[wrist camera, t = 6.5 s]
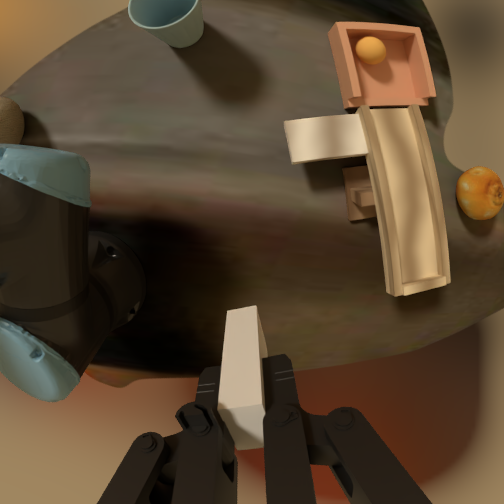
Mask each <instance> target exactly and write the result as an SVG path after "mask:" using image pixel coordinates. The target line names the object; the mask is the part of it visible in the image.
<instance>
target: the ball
mask: <svg viewBox="0 0 504 504" xmlns="http://www.w3.org/2000/svg"><path fill="white" fill-rule="evenodd" d="M355 50H356V54H357V56H358V57H359V58H360V59H361V60H362V61H363V62H365V63H367V64H371V65H375V64H379V63H380V62H382V61H383V60H384V58H385V56H386V48H385V46H384V44H383V43H382V42H381V41H380V40H379V39H377V38H375V37H372V36H365V37H362V38H361V39H359V40H358V42H357V43H356V47H355Z"/></svg>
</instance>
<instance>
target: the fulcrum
mask: <svg viewBox="0 0 504 504" xmlns="http://www.w3.org/2000/svg"><path fill="white" fill-rule="evenodd" d="M342 169H343V176H344V185H345V193H346V203H347V212H348V220H349V221H352V220H358V219H365V218H371V217H377V212H376V207H375V201H374V195H373V190H372V185H371V180H370V175H369V170H368V165H365V166H356V167H347V168H342Z"/></svg>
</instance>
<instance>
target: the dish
mask: <svg viewBox="0 0 504 504" xmlns="http://www.w3.org/2000/svg"><path fill="white" fill-rule="evenodd" d="M365 36H372V37H375V38H377V39H379V40H380V41H381V42H382V43H383V44H384V46H385V48H386V56H385V58H384V60H383V61H382V62H380V63H379V64H375V65H371V64H367V63H365V62H363V61H362V60H361V59H360V58H359V57H358V56H357V54H356V50H355V47H356V43H357V42H358V40H359V39H361V38H362V37H365ZM328 37H329V41H330V45H331V49H332V53H333V57H334V62H335V66H336V70H337V75H338V80H339V84H340V89H341V94H342V100H343V105H344V109H350V108H359V107H360V106H361V105H369V107H409V106H410V105H411V104H418V105H419V107H422V106H428V105H429V104H428V98H432V97H436V92H435V87H434V82H433V78H432V73H431V69H430V64H429V60H428V56H427V52H426V48H425V45H424V41H423V38H422V34H421V31H420V28H418V27H410V26H402V25H393V24H381V23H364V22H336V23H335V24H334V25H333V27H332V28H331V30H330V31H329V32H328Z"/></svg>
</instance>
